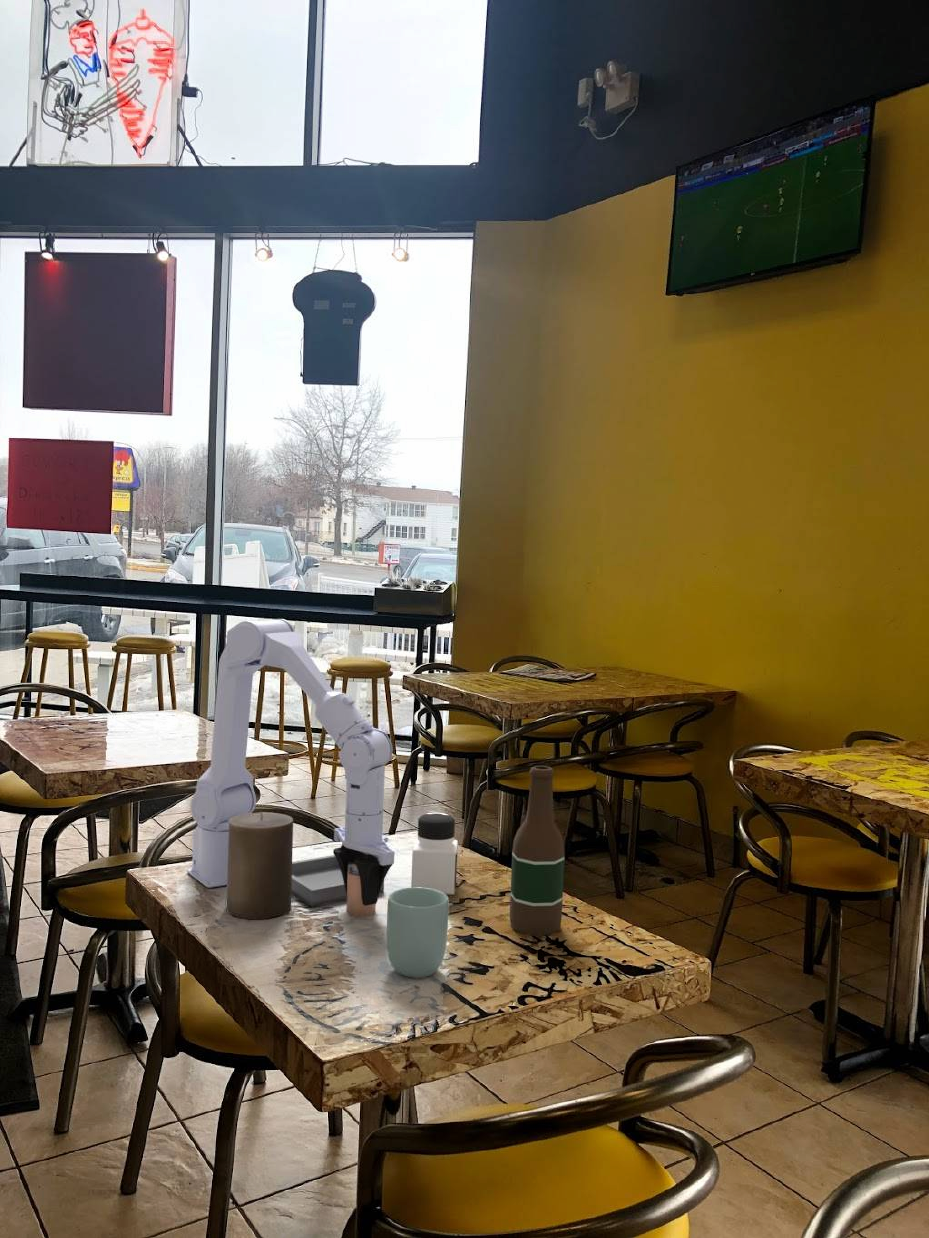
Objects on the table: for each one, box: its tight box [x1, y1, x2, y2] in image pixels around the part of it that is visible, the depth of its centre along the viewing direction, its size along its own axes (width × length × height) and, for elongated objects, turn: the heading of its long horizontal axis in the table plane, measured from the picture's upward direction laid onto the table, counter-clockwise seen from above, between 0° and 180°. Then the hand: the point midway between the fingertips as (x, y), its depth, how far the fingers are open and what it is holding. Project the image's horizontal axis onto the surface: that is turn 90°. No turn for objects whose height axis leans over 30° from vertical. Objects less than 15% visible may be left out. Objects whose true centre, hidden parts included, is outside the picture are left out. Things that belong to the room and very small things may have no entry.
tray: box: [291, 854, 385, 907], centre depth 162 cm, size 14×13×2 cm
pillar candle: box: [226, 811, 294, 920], centre depth 151 cm, size 10×10×15 cm
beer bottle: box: [509, 765, 566, 937], centre depth 147 cm, size 8×8×24 cm
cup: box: [386, 886, 450, 979], centre depth 130 cm, size 8×8×10 cm
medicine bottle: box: [410, 812, 459, 896], centre depth 163 cm, size 7×7×12 cm
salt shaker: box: [346, 859, 377, 918], centre depth 151 cm, size 4×4×8 cm
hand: (361, 898), depth 151 cm, fingers closed on salt shaker, 4 cm apart
